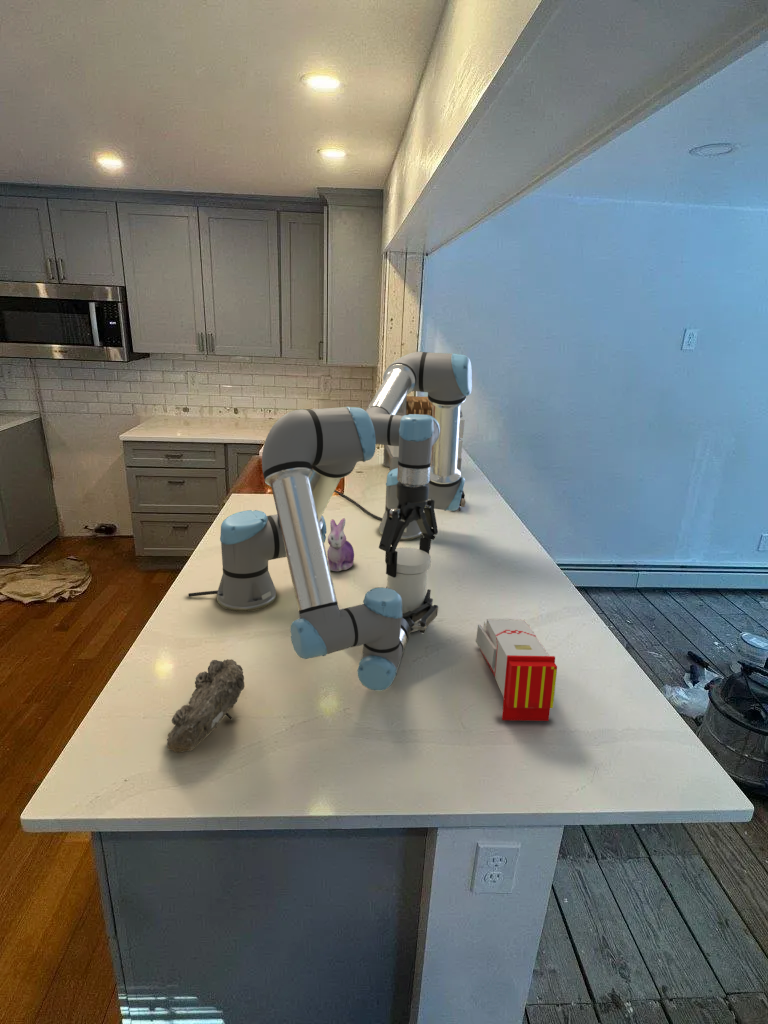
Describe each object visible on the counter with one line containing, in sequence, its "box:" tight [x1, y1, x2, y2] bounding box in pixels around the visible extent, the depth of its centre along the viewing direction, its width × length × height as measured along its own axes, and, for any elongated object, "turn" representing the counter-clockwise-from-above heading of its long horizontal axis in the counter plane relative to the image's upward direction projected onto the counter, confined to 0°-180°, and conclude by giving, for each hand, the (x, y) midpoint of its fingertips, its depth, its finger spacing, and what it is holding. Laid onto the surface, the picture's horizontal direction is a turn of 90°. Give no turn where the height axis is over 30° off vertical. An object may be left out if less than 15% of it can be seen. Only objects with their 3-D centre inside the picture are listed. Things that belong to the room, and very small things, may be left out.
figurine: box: [326, 517, 355, 572], centre depth 171 cm, size 9×10×15 cm
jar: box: [386, 570, 428, 633], centre depth 141 cm, size 10×10×18 cm
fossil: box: [166, 658, 245, 754], centre depth 106 cm, size 22×10×15 cm
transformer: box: [383, 394, 465, 472], centre depth 268 cm, size 34×33×41 cm
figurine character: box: [457, 490, 466, 511], centre depth 229 cm, size 7×8×15 cm
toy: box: [475, 618, 558, 722], centre depth 122 cm, size 12×13×30 cm
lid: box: [395, 546, 432, 574], centre depth 138 cm, size 11×11×2 cm
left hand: (408, 591), depth 146 cm, fingers closed on jar, 10 cm apart
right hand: (407, 568), depth 139 cm, fingers closed on lid, 11 cm apart
